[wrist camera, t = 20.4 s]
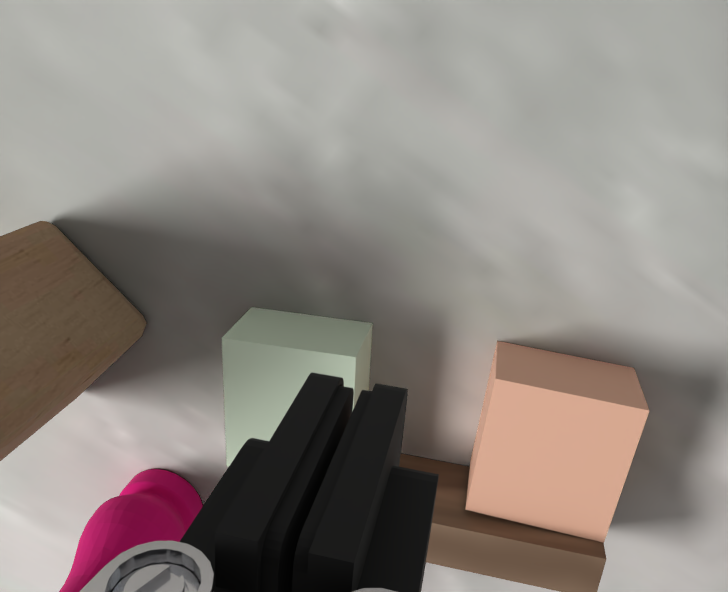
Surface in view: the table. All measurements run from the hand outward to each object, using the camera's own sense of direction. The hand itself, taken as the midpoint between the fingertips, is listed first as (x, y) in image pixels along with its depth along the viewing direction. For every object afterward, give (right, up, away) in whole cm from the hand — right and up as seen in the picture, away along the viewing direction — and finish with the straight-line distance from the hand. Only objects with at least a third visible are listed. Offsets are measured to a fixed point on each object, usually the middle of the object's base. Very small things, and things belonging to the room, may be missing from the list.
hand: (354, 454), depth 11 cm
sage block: (-3, -3, +32) cm, 32 cm away
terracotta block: (+12, -5, +29) cm, 32 cm away
